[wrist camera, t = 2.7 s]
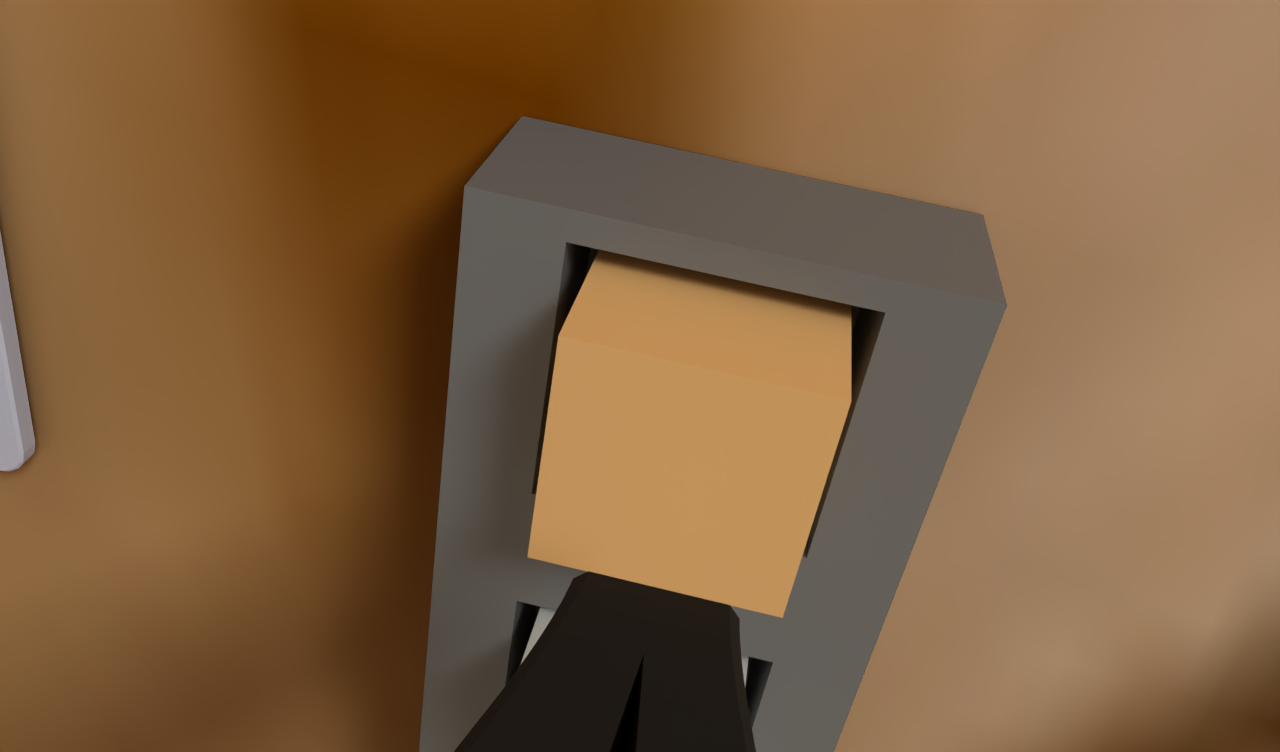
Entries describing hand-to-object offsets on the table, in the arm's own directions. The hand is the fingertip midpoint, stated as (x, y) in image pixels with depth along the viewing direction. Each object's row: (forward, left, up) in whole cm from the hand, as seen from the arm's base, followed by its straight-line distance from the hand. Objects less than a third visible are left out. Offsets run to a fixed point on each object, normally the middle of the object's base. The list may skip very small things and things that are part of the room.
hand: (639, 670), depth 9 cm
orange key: (0, 0, -5) cm, 5 cm away
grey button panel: (0, -6, -7) cm, 9 cm away
